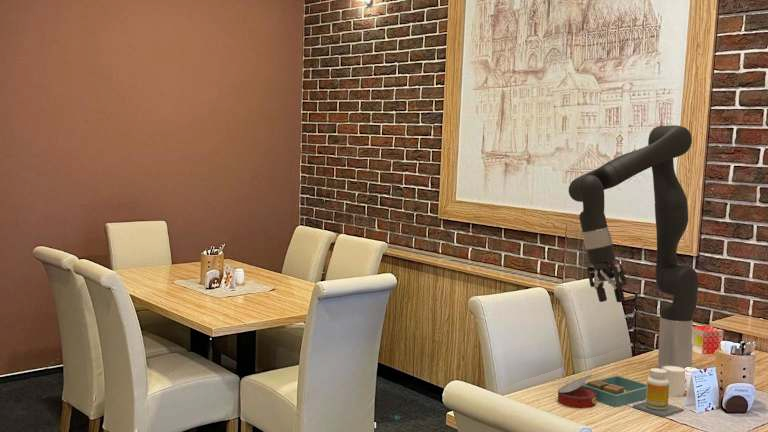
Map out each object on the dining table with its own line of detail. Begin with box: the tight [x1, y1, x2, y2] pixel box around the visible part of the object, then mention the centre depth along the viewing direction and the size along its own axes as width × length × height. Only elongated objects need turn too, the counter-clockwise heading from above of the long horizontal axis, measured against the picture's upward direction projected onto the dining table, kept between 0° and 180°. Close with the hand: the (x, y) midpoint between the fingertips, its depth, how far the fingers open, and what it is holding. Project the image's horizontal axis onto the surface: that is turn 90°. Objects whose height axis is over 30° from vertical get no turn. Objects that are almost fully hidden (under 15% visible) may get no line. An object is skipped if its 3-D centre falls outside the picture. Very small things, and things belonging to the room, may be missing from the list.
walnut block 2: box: [603, 384, 625, 395], centre depth 200 cm, size 4×4×4 cm
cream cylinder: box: [661, 366, 686, 397], centre depth 208 cm, size 7×7×7 cm
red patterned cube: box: [692, 325, 724, 355], centre depth 256 cm, size 8×8×8 cm
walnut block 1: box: [586, 379, 609, 390], centre depth 203 cm, size 4×4×4 cm
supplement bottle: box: [645, 367, 669, 410], centre depth 194 cm, size 5×5×10 cm
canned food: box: [557, 373, 597, 409], centre depth 198 cm, size 11×10×10 cm
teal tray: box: [580, 374, 647, 408], centre depth 204 cm, size 16×12×3 cm
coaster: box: [631, 401, 685, 418], centre depth 194 cm, size 9×9×1 cm
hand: (611, 301), depth 211 cm, fingers open, 8 cm apart
